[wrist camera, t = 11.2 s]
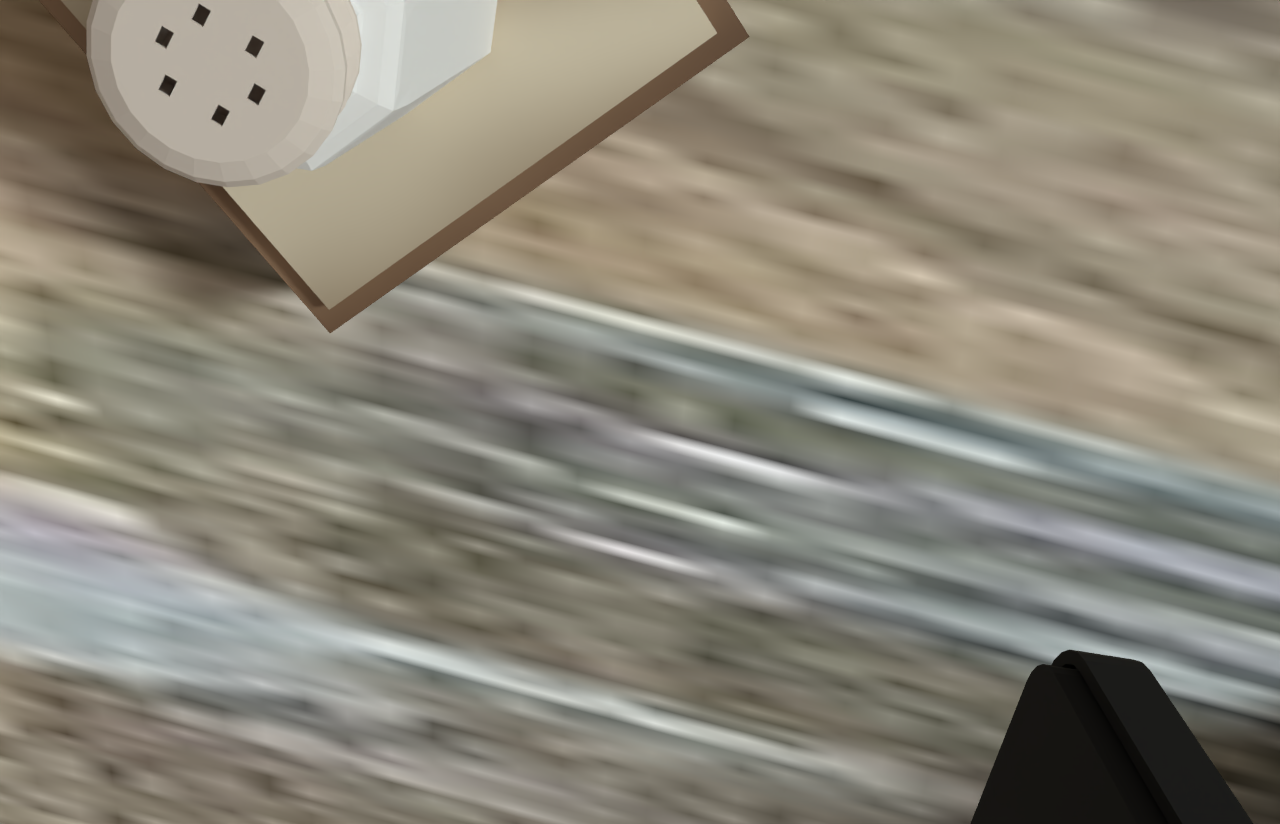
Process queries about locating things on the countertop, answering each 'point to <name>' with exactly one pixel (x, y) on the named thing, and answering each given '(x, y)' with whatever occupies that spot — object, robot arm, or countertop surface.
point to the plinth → (466, 141)
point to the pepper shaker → (272, 76)
